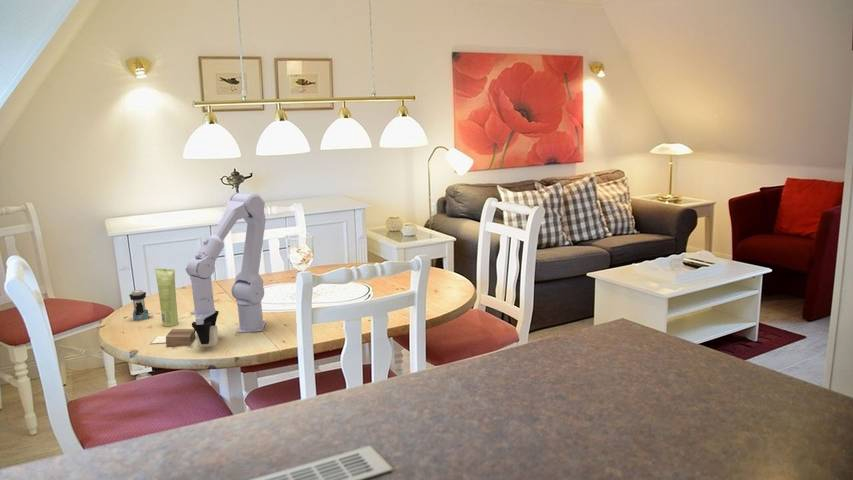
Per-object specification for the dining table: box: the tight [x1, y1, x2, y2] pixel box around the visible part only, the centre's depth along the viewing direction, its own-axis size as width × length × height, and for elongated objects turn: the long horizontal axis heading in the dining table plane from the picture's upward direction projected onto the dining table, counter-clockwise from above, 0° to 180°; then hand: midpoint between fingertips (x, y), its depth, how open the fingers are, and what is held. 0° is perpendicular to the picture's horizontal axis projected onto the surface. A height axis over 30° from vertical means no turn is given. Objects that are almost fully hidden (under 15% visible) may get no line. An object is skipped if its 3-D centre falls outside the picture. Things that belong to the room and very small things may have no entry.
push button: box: [128, 289, 154, 321], centre depth 230 cm, size 7×5×10 cm
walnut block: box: [165, 328, 196, 347], centre depth 206 cm, size 7×7×3 cm
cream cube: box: [196, 325, 219, 348], centre depth 204 cm, size 5×5×5 cm
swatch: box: [149, 335, 167, 346], centre depth 209 cm, size 7×7×1 cm
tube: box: [154, 267, 179, 328], centre depth 222 cm, size 6×5×20 cm
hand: (207, 339), depth 204 cm, fingers open, 7 cm apart
